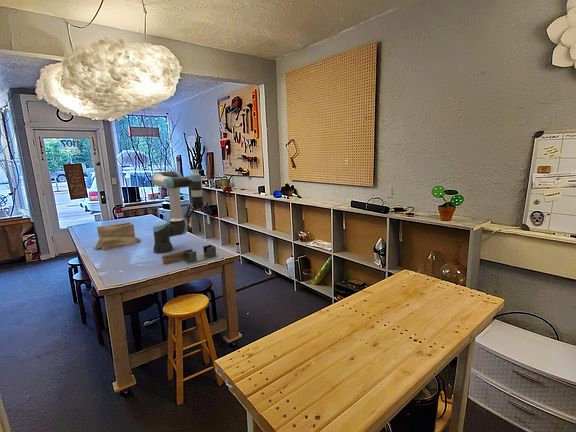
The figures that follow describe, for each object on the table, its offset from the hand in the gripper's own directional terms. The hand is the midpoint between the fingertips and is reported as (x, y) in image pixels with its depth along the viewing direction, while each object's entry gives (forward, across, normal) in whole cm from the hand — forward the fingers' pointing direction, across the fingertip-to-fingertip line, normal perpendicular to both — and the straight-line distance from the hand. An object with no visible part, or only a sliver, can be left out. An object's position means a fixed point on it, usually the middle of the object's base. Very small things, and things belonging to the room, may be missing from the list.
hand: (199, 225), depth 220 cm
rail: (+28, -16, +15) cm, 35 cm away
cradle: (+28, -42, +92) cm, 105 cm away
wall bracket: (+28, -42, +92) cm, 105 cm away
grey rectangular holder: (+28, +1, +7) cm, 28 cm away
